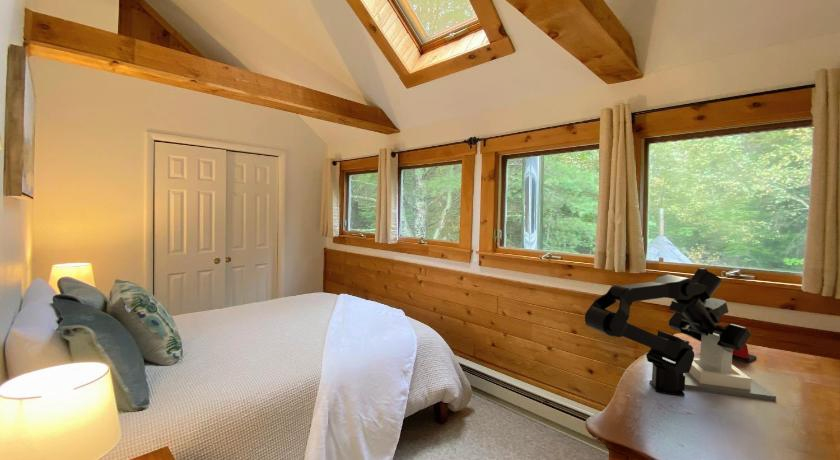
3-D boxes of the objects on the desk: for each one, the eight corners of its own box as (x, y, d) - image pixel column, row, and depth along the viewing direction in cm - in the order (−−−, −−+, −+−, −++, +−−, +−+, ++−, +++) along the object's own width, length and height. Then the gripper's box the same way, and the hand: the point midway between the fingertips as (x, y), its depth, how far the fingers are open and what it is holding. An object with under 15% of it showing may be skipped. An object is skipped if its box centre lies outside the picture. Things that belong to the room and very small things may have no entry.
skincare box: (731, 378, 101) (734, 336, 101) (720, 380, 100) (723, 337, 100) (708, 369, 107) (711, 329, 107) (698, 370, 106) (700, 330, 105)
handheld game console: (757, 359, 121) (759, 337, 121) (744, 366, 116) (746, 343, 115) (712, 347, 132) (713, 327, 132) (698, 352, 126) (700, 331, 126)
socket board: (684, 388, 99) (685, 373, 99) (664, 365, 114) (664, 352, 114) (775, 401, 93) (777, 385, 93) (741, 374, 109) (742, 360, 109)
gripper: (748, 297, 93) (774, 337, 96) (677, 283, 110) (701, 317, 114) (724, 329, 91) (751, 369, 94) (656, 310, 108) (681, 343, 112)
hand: (719, 347), depth 104 cm, fingers closed on skincare box, 6 cm apart
